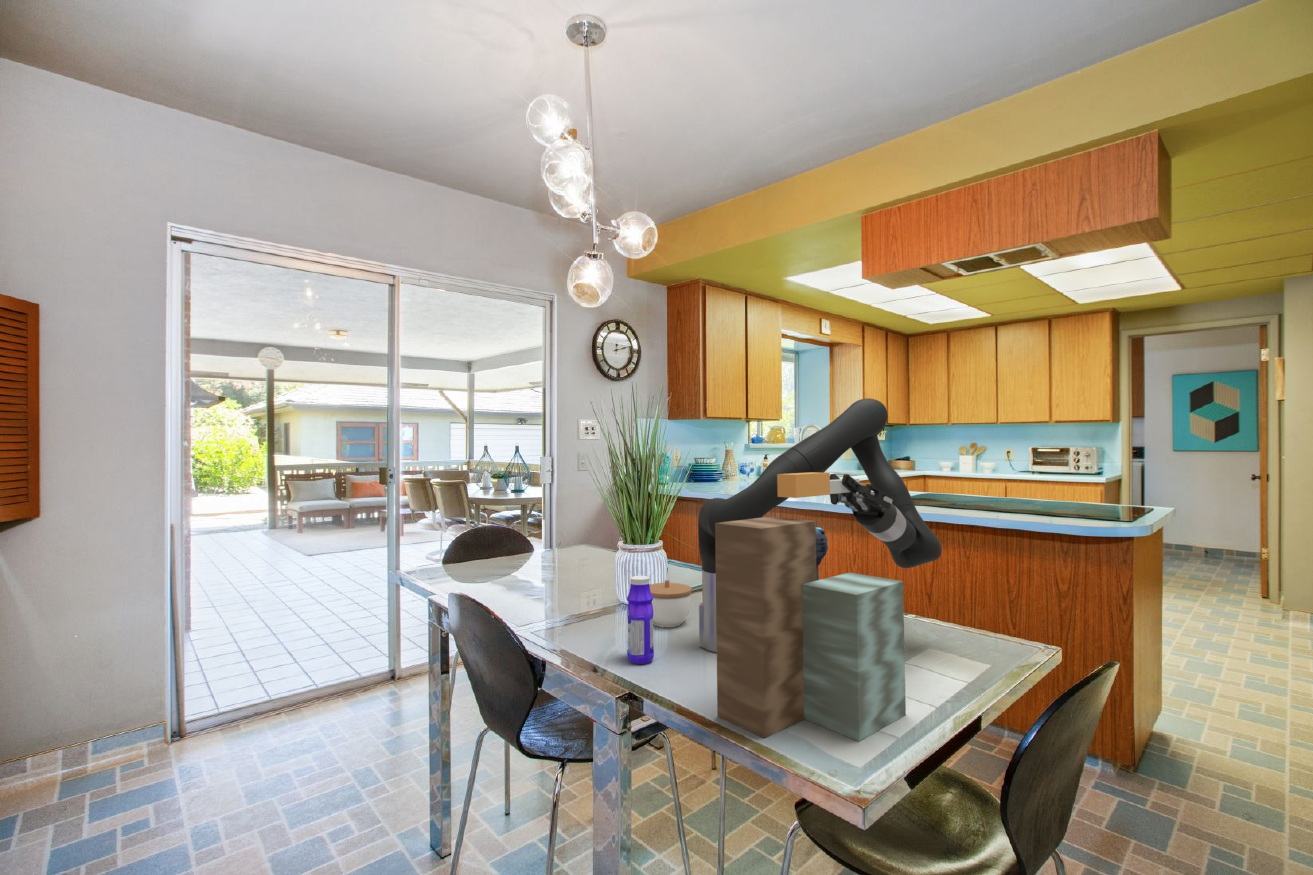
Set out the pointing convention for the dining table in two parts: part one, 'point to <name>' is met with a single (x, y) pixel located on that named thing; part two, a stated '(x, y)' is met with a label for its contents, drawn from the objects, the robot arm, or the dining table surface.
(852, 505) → the robot arm
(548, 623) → the dining table surface
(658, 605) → the lidded bowl
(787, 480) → the white and orange block
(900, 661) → the stand
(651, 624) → the bottle
